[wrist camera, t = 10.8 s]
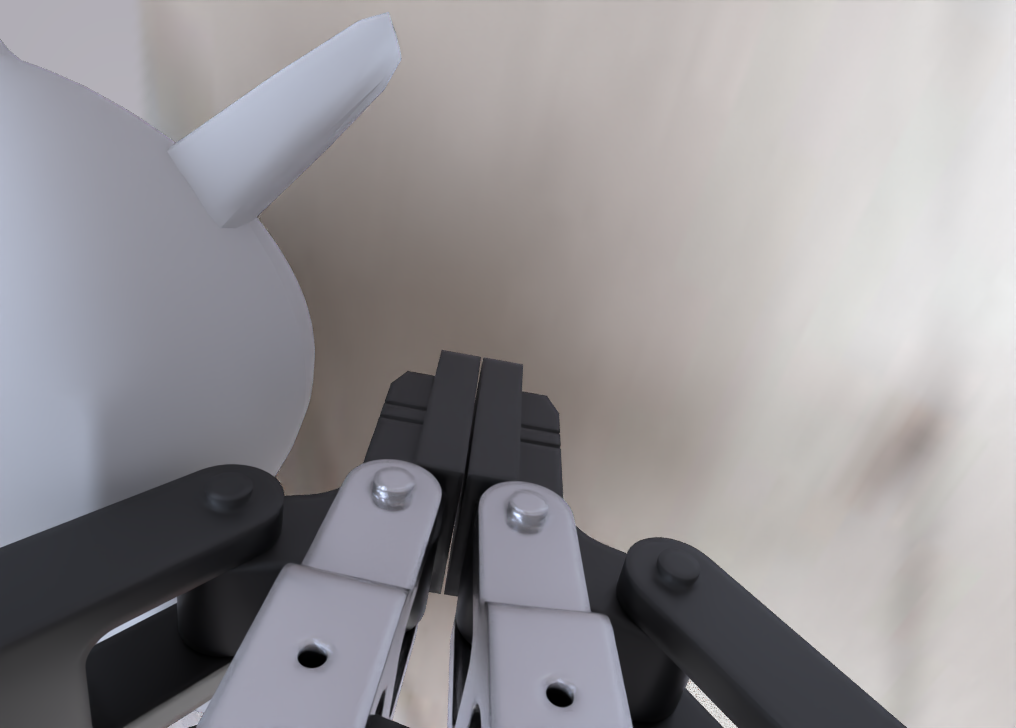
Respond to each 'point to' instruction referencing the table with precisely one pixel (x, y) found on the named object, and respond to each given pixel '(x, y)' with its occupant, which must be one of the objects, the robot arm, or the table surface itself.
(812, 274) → the table surface
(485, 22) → the table surface
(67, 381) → the toy creature
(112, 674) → the robot arm
